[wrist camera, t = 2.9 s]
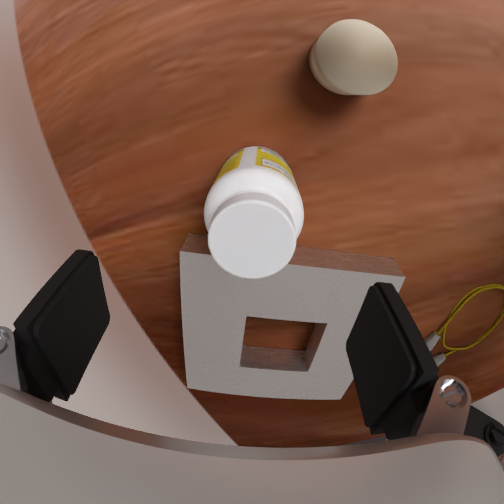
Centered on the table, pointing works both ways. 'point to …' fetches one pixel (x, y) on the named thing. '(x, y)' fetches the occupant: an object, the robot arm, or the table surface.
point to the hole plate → (275, 307)
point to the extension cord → (435, 336)
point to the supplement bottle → (253, 214)
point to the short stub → (353, 58)
